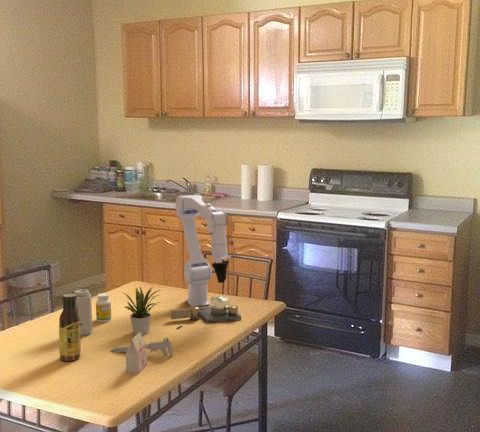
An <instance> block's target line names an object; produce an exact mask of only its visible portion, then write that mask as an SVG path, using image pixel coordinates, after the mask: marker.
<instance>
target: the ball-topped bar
mask: <svg viewBox="0 0 480 432" xmlns="http://www.w3.org/2000/svg"><path fill="white" fill-rule="evenodd" d="M200 308H201V306H192V307H191V306H190V307H188V308H180V309H178V308H177V309H170V310H169V311H170V313H169V314H170V315H169V317H170V320H178V319H179V320H180V319H187V318H189V319H190V320H191V321H197V320H200V319H201V318H200V316H201V315H200Z"/></svg>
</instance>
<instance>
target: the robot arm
mask: <svg viewBox="0 0 480 432" xmlns="http://www.w3.org/2000/svg"><path fill="white" fill-rule="evenodd" d="M174 205H175V209H176V214H177V217H178V218H179V219H180V220H181V224H182V228H183V233H184V238H185V243H186V247H187V253H188V257H189V259H188V260H187V261H186V262H185V263H184V278H185V280H186V281H187V283H188V284H187V298H186V299H185V301H186V302H187V304H188V305H189V306H190V307H192V306H198V307H205V306H211V302H210V301H209V300H208V283H209V282H210V280H211V278H212V277H213V271H212V268H213V270H214V271H215V275H216V279H217V283H218V284H220V283H221V284H222V283H225V281H226V279H227V270H228V265H229V263H230V261H229V260H227V259H229V258H230V259H231V258H232V255H228V254H229V253H228V244H227V232H226V231H227V230H226V227H227V225H228V215H227V213H226V212H225V211H224V210H222V211H219V210H217V208H215V207H214V206H212V204H211V203H205V202H204V201H203V197H202V195H200V194H189V195H188V194H187V195H177V197H176V198H175V204H174ZM199 216H200V217H201V218H202V219H203V220H204V221H205V222H206V225H207V229H208V231H207V232H208V233H209V236H210V245H211V247H210V248H211V260H213V261H215V262H213V263H211V265H210V262H209V260H208V259H206V257H203V256H202V251H201V246H200V241H199V237H198V232H197V227H196V223H195V219H196V218H198V217H199ZM225 259H226V260H225Z"/></svg>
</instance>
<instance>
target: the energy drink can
mask: <svg viewBox="0 0 480 432" xmlns="http://www.w3.org/2000/svg"><path fill="white" fill-rule="evenodd" d="M73 294H76V310H77V313H78V316H79V319H80V332H81V333H80V334H81V337H86V336H89V335H90V334H91V333H92V332H93V314H92V312H93V311H92V294H91V292H90V290H89V289H88V288H80V289H79V288H78V289H76V290H74V293H73Z"/></svg>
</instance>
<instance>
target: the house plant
mask: <svg viewBox="0 0 480 432" xmlns="http://www.w3.org/2000/svg"><path fill="white" fill-rule="evenodd" d="M152 289H153V287H150V288H149V289H148V290H147V292H146V294H145V292H143V289H142V287H141V286H140V285H139V289H138V288H137V287H135V302H134V301H133V299H132V298H131V297H130V296H129V295H128V294H127V293H125V292H124V291H121V293H122V294H124V295H125V296H126V297H127V299H128V300H129V301H130V302H129V301H126V303H127V304H128V306H124V308H125V309H127V310H128V311H131V312H132V313H131V314H130V315H129V317H130V322H131V327H132V332H133V333H132V334H133V335H134V336H136V335H137V334H138V333H139V332H141V335H142V336H145V335H147V334H149V332H150V325H151V319H152V318H151V317H152V313H150V311H151V310H152V308H153V307H155V306H158V304H160V303H162V302H161V301H160V302H155V303H151V301H152V300H153V299H154V298H156V297H159V296H160V295H159V294H157V295H154V294H156V293H157V292H161V291H162V289H158V290H155V291H153V292H152ZM139 290H140V291H139ZM151 292H152V293H151ZM150 293H151V294H150ZM153 295H154V296H153ZM150 306H151V307H150Z"/></svg>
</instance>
